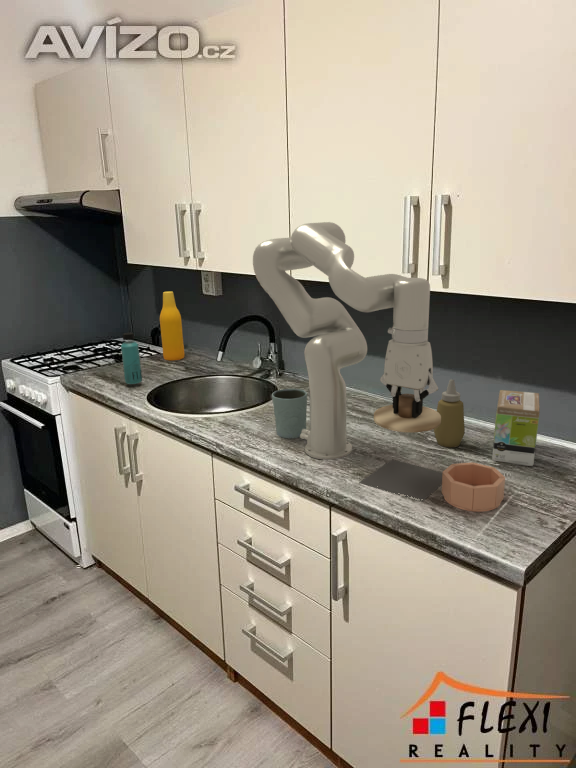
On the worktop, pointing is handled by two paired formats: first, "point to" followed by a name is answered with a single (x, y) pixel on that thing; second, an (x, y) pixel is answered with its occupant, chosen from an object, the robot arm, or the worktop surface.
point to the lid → (406, 417)
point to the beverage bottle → (131, 360)
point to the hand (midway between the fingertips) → (407, 413)
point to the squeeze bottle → (450, 418)
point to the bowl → (473, 486)
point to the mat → (405, 479)
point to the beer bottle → (171, 329)
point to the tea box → (516, 427)
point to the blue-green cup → (290, 412)
